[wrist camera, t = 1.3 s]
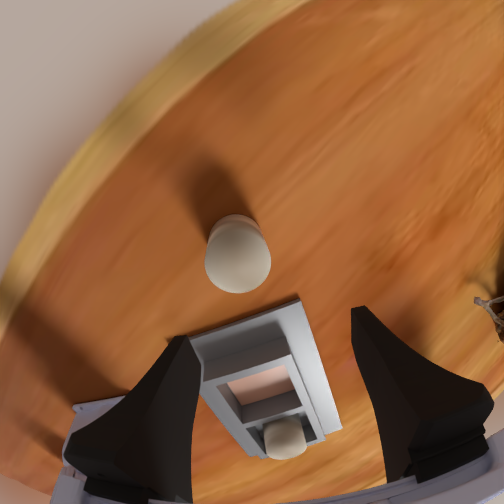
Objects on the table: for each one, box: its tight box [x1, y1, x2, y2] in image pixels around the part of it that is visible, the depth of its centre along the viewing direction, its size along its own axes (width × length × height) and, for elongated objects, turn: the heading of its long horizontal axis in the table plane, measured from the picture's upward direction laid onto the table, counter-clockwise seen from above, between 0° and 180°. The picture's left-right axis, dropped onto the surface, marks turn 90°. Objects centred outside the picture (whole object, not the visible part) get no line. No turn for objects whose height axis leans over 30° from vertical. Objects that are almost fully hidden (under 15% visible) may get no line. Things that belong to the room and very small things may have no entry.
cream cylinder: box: [205, 214, 271, 293], centre depth 21 cm, size 4×4×4 cm
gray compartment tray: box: [168, 298, 342, 459], centre depth 27 cm, size 12×20×3 cm, turn 20°
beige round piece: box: [262, 413, 307, 459], centre depth 27 cm, size 4×4×4 cm
